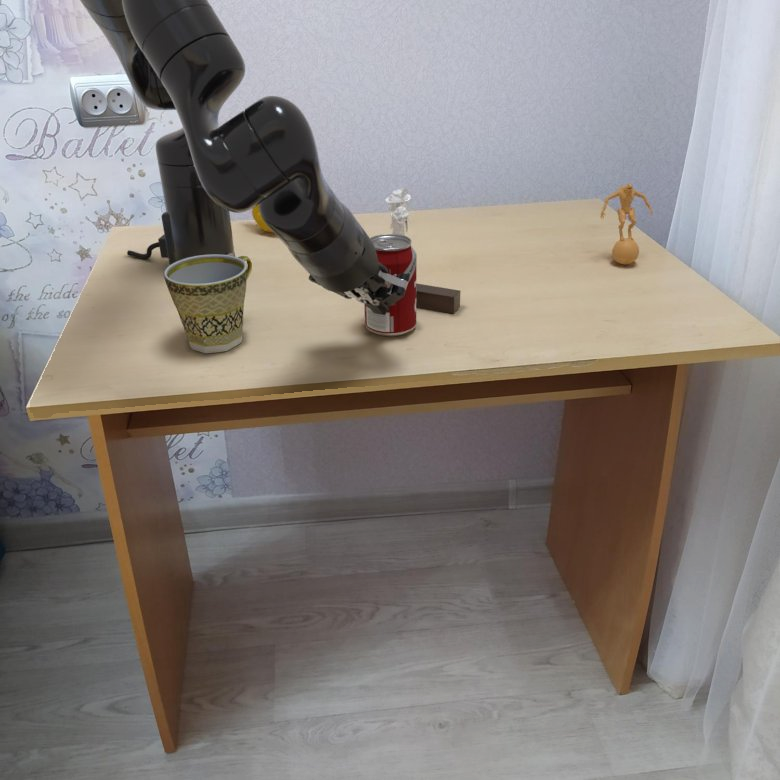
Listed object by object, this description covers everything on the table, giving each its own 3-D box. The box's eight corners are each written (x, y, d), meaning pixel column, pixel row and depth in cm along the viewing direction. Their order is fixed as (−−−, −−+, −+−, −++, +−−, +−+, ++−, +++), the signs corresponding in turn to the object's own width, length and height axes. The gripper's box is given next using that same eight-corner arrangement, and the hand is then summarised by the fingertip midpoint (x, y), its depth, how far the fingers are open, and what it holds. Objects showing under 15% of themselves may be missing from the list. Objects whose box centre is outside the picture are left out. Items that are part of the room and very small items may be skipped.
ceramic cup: (218, 367, 93) (206, 290, 88) (159, 348, 98) (145, 274, 93) (285, 326, 103) (278, 255, 97) (229, 310, 107) (220, 242, 102)
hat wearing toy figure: (413, 267, 120) (413, 191, 114) (388, 268, 120) (386, 192, 114) (408, 247, 128) (407, 175, 122) (384, 248, 127) (383, 176, 121)
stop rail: (460, 307, 107) (460, 290, 106) (453, 314, 105) (454, 297, 104) (382, 293, 111) (381, 277, 110) (374, 300, 109) (374, 283, 108)
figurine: (603, 270, 118) (613, 192, 112) (588, 256, 123) (597, 181, 117) (654, 266, 119) (667, 189, 113) (638, 252, 124) (649, 178, 118)
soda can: (389, 344, 97) (387, 254, 91) (354, 328, 102) (351, 241, 96) (426, 328, 101) (427, 241, 95) (392, 312, 106) (391, 228, 100)
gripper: (265, 266, 83) (327, 326, 98) (375, 285, 78) (422, 344, 93) (287, 205, 84) (345, 273, 100) (396, 219, 79) (439, 288, 95)
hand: (382, 307), depth 97 cm, fingers closed
